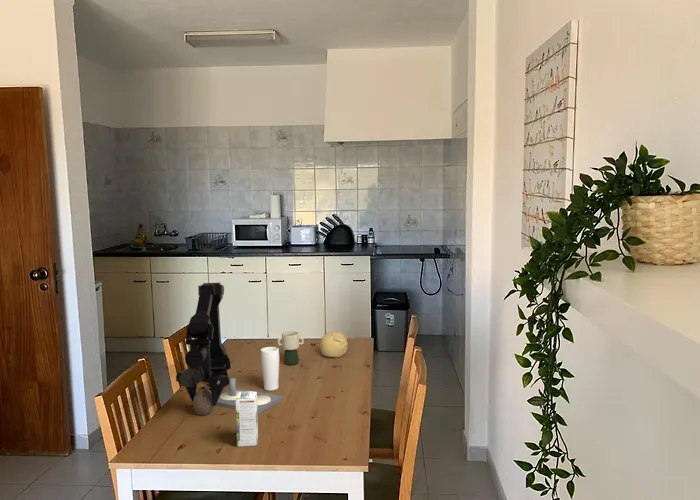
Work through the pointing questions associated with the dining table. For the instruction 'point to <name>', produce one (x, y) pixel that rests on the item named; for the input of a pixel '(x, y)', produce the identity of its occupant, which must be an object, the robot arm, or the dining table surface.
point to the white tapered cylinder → (270, 367)
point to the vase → (203, 401)
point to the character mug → (290, 346)
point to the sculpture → (333, 344)
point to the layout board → (231, 394)
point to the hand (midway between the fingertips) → (203, 403)
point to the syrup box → (246, 419)
